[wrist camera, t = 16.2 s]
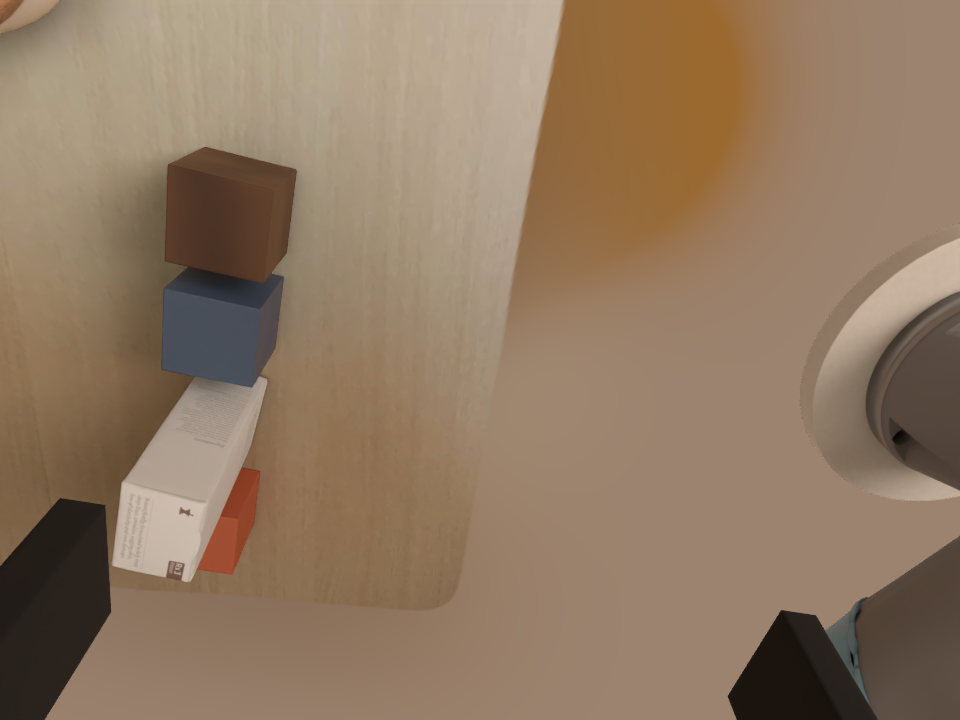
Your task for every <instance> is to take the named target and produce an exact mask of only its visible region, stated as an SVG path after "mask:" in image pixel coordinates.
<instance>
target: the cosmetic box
mask: <svg viewBox="0 0 960 720" xmlns="http://www.w3.org/2000/svg"><path fill="white" fill-rule="evenodd" d="M266 386H267V379H266V378H263V377H260V376H259V377H258V379H257V380H256V382H255V384H254V386H253V387H252V388H250V387H245V386H240V385H235V384H230V383H225V382H220V381H215V380H210V379H205V378H200V377H194V378H193V380H192V381H191V383H190V384H189V386H188V387H187V389H186V390H185V391H184V393H183V394H182V396H181V397H180V399H179V400H178V402H177V403H176V405H175V406H174V407H173V409H172V410H171V412H170V413H169V415H168V416H167V418H166V419H165V421H164V422H163V423H162V425H161V426H160V428H159V429H158V431H157V432H156V434H155V435H154V437H153V438H152V440H151V441H150V443H149V444H148V446H147V447H146V449H145V450H144V452H143V453H142V455H141V456H140V458H139V459H138V461H137V462H136V464H135V465H134V467H133V468H132V469H131V471H130V472H129V474H128V475H127V476H126V478H125V479H124V480H123V481H122V484H121V493H120V502H119V510H118V518H117V526H116V535H115V543H114V551H113V561H112V566H115V567H118V568H122V569H127V570H131V571H136V572H141V573H146V574H151V575H156V576H160V577H166V578H171V579H176V580H180V581H184V582H189V581H191V580H192V578H193V576H194V574H195V571H196V569H197V567H198V565H199V563H200V561H201V558H202V556H203V554H204V552H205V549H206V547H207V545H208V543H209V540H210V538H211V536H212V534H213V531H214V529H215V527H216V524H217V522H218V520H219V518H220V515H221V513H222V511H223V508H224V506H225V504H226V501H227V499H228V497H229V495H230V492H231V490H232V488H233V485H234V483H235V481H236V479H237V477H238V474H239V472H240V470H241V467H242V465H243V463H244V461H245V458H246V456H247V454H248V451H249V449H250V447H251V444H252V440H253V436H254V432H255V428H256V424H257V421H258V417H259V413H260V409H261V405H262V401H263V398H264V394H265V390H266Z"/></svg>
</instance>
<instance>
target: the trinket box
mask: <svg viewBox="0 0 960 720" xmlns="http://www.w3.org/2000/svg"><path fill="white" fill-rule="evenodd" d="M60 1H61V0H0V33H4V32H9V31H12V30H16V29H19V28H21V27H24V26H26V25H28V24H30V23H32V22H34V21H36V20H38V19H40V18H42V17H43V16H45V15H46V14H47V13H49V12H50V11H51V10H53V9H54V8H55V7H56V6H57V5H58V4H59V2H60Z"/></svg>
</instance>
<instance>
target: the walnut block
mask: <svg viewBox="0 0 960 720" xmlns="http://www.w3.org/2000/svg"><path fill="white" fill-rule="evenodd" d="M296 172H297V171H296V170H295V169H291V168H287V167H283V166H279V165H275V164H271V163H267V162H263V161H259V160H255V159H251V158H247V157H243V156H239V155H235V154H231V153H227V152H223V151H219V150H215V149H211V148H207V147H204V148H202V149H200V150H198V151H196V152H194V153H191V154H189V155H187V156H185V157H183V158H181V159H179V160H177V161H175V162H172V163H170V164H168V176H167V209H166V241H165V261H166V262H171V263H175V264H180V265H184V266H189V267H193V268H197V269H202V270H206V271H211V272H215V273H220V274H224V275H229V276H233V277H238V278H242V279H247V280H251V281H256V282H260V283H264V282H265V280H266V279H267V278H268V276H269V275H270V274H271V272H272V271H273V270H274V269H275V267H276V266H277V265H278V263H279V262H280V261H281V259H282V258H283V257H284V256H285V254H286V253H287V246H288V237H289V229H290V221H291V213H292V205H293V196H294V188H295V180H296Z"/></svg>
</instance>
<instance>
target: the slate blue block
mask: <svg viewBox="0 0 960 720" xmlns="http://www.w3.org/2000/svg"><path fill="white" fill-rule="evenodd" d="M283 279H284V277H281V276H277V275H273V274H270V275H269V276H268V278H267V279H266V280H265V282H264V283H260V282H256V281H251V280H247V279H242V278H238V277H233V276H229V275H224V274H220V273H215V272H211V271H206V270H202V269H197V268H193V267H188V268H187V269H186V270H184V271H183V272H182V273H181V274H180V275H179V276H178V277H177V278H175V279H174V280H173V281H172V282H171V283H170V284H169V285H167V286H166V287H165V288H164V301H163V334H162V367H161V369H162V370H165V371H170V372H175V373H180V374H185V375H190V376H195V377H200V378H205V379H210V380H215V381H220V382H225V383H230V384H235V385H240V386H245V387H250V388H252V387H253V386H254V384H255V382H256V380H257V379H258V377H259V375H260V374H261V372H262V370H263V368H264V367H265V365H266V363H267V361H268V360H269V358H270V356H271V354H272V353H273V351H274V349H275V344H276V336H277V328H278V320H279V312H280V303H281V295H282V287H283Z"/></svg>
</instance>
